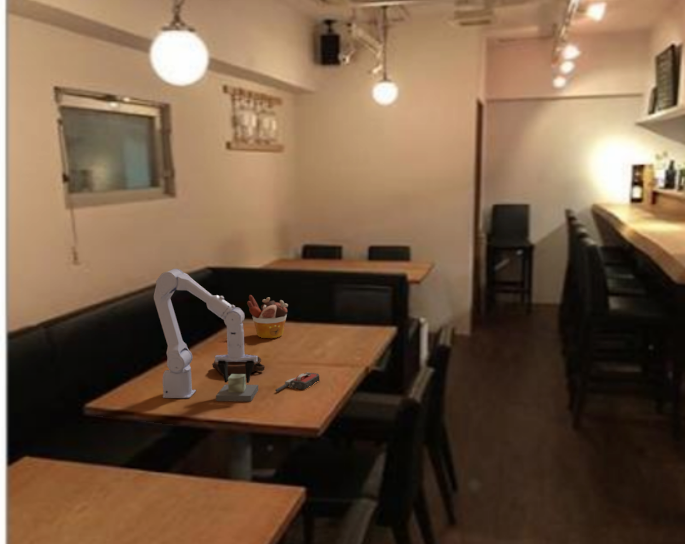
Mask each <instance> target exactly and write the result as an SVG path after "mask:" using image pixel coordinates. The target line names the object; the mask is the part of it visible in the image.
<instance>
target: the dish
mask: <svg viewBox="0 0 685 544" xmlns="http://www.w3.org/2000/svg"><path fill="white" fill-rule="evenodd" d="M246 355H248V354H246ZM261 362H262V359H261V357H260V356H258V361H257V362H255V364H254V366H253V368H252V371H251V374H252V373H255V372H262V371H264V370H265V367H266V366H265V365H264V364H262V363H261ZM246 363H247V362H228V377H229V376H230V375H231V374H246V367H245V364H246ZM211 365H212V368H213V369H215V370H218V372H219V373H220V374H221V375H222V372H221V370H220V369H219V367H218V362H215V360H214V361H213V362H212V364H211Z"/></svg>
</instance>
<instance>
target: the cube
mask: <svg viewBox="0 0 685 544" xmlns="http://www.w3.org/2000/svg"><path fill="white" fill-rule="evenodd" d="M227 383H228V390H229V392H244V390H245V389H246V385H247V383H246V374H231V375H230V376H229V375H228V382H227Z"/></svg>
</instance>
